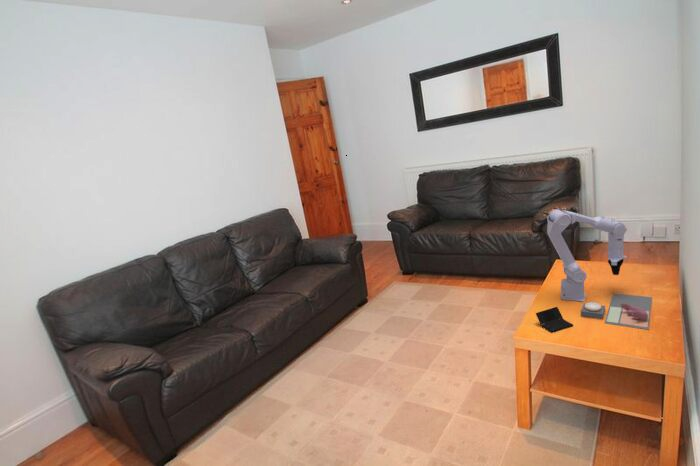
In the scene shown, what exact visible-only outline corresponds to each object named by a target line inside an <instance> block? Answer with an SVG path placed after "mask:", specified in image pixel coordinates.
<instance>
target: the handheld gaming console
mask: <svg viewBox="0 0 700 466" xmlns="http://www.w3.org/2000/svg"><path fill="white" fill-rule="evenodd" d="M559 309H560V308H558V306H555V307H551V308H547V309H545V310H542V311H538V312H535V315H536V318H537V319H538V321H539V323H540V324H539V325H541V326H542V327H543V329H544V328H545V329H544V330H546V331H547V330H548V332H549V333H551V334H553V332H554V333H556V332H559V331H563V330H566V329H568V328H572V327H574V324H573V323H572V322H569V321H568V320H565V318H563V316H562V313H561V311H560V310H559ZM541 326H540V327H541ZM542 327H541V328H542Z"/></svg>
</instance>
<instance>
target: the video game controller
mask: <svg viewBox="0 0 700 466" xmlns="http://www.w3.org/2000/svg"><path fill="white" fill-rule="evenodd" d="M621 307H622V308H623V309H625V310H627V314H629V315H631V316H632V317H634V318H639V319H641V320H644V319H648V315H647V314H648V313H647V312H646V311H645V310H644V309H642V308H639V307H636V306H632V305H629V304H627V303H622V304H621Z"/></svg>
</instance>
